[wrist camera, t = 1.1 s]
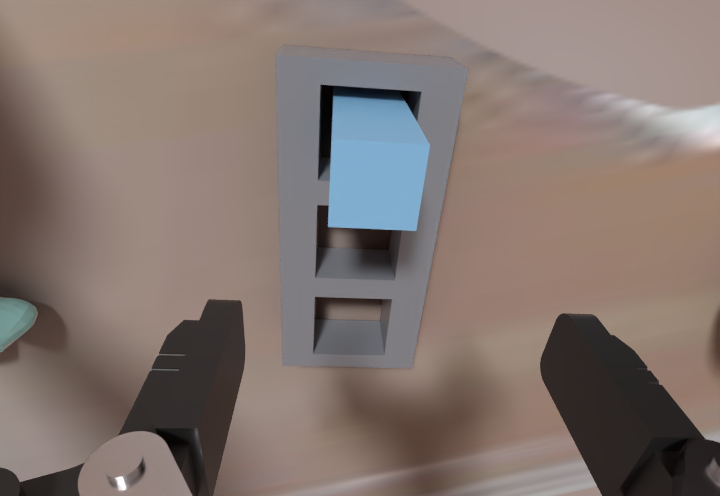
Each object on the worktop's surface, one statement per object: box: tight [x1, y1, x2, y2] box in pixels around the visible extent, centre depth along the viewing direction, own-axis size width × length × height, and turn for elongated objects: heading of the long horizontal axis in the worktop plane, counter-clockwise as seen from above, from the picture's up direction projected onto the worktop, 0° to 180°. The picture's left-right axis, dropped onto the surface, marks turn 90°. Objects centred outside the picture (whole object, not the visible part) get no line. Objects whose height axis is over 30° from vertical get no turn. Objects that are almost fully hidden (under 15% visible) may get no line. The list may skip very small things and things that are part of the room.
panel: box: [276, 45, 468, 368], centre depth 30 cm, size 22×10×4 cm, turn 176°
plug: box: [328, 86, 430, 231], centre depth 23 cm, size 4×4×11 cm
